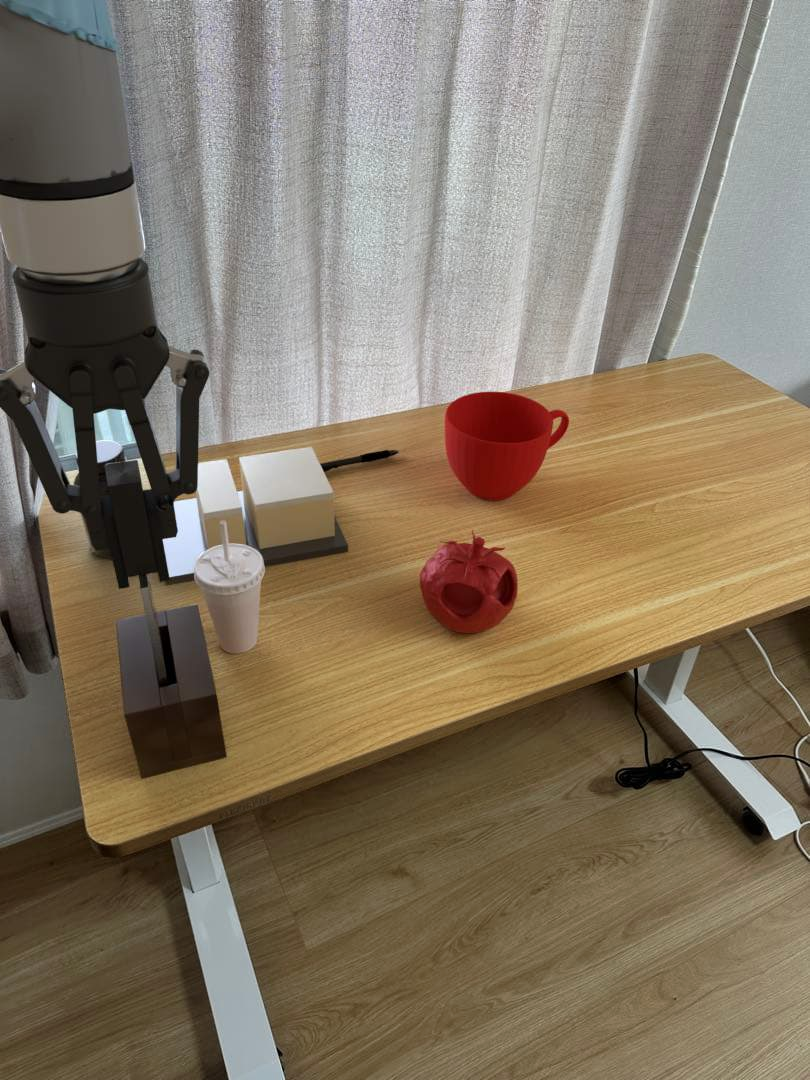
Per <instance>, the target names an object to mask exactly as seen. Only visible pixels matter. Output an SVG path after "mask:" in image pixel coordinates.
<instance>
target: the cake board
mask: <svg viewBox="0 0 810 1080" xmlns="http://www.w3.org/2000/svg"><path fill="white" fill-rule="evenodd" d="M237 493H238V496H239V499H240V503H241V506H242V512H243V521H244V530H245V539H246V545H247V546H250V547H252V548H254V549H255V550H257V551H258V552H259V553H260V554H261V555H262V557H263V561H264V566H265V568H267V567H273V566H277V565H284V564H289V563H294V562H299V561H306V560H311V559H315V558H322V557H327V556H332V555H338V554H343V553H348V552H349V543H348V542H347V539H346V537H345V535H344V533H343V531H342V529H341V527H340V524H339V522H338V520H337V518H336V516H335V515H334V525H335V536H331V537H325V538H319V539H314V540H308V541H303V542H297V543H291V544H286V545H280V546H275V547H269V548H263V549H259V546H258V543H257V540H256V536H255V533H254V530H253V527H252V524H251V521H250V518H249V515H248V512H247V509H246V506H245V503H244V499H243V490H239V491H238V490H237ZM174 510H175V516H176V522H177V528H178V533H177V536H176V537H173V538H167V539H163V544H164V550H165V555H166V561H167V567H168V572H169V578H170V580H168V581H165V585H166V586H170V585H175V584H176V585H177V584H181V583H187V582H193V581H195V579H194V563H195V561H196V559H197V558H198V557H199V556H200V555H201V554H202V553H203V552H205V551H206V550H208V547H207V543H206V539H205V535H204V531H203V527H202V523H201V519H200V514H199V510H198V506H197V499H196V497H194V498H188V499H181V500H174Z"/></svg>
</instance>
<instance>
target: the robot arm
mask: <svg viewBox="0 0 810 1080" xmlns="http://www.w3.org/2000/svg"><path fill="white" fill-rule="evenodd" d="M112 27H113V26H112V23H111V17H110V13H109V9H108V3H107V0H0V235H1V238H2V243H3V246H4V251H5V254H6V258H7V260H8V261H9V262H10V263H11V265H14V266H15V269H14V271H13V272H12V276H11V277H12V282H13V287H14V289H15V294H16V297H17V301H18V305H19V309H20V313H21V316H22V321H23V325H24V329H25V332H26V336H27V345H26V347H25V350H24V360H23V361H21V362H19V363H18V364H17V365H15V366H13V367H12V368H10V369H6V368H0V409H1V410H2V411H3V412H4V413H5V414H6V415H7V416H8V417H9V418H10V420H12V422H13V424H14V426H15V428H16V431H17V433H18V435H19V438H20V439H21V442H22V443H23V446H24V448H25V450H26V452H27V455H28V457H29V460H30V461H31V464H32V465H33V468H34V471H35V473H36V475H37V476H38V479H39V482H40V483H41V486H42V488H43V490H44V492H45V495H46V497H47V500H48V501H49V504H50V505H51V508H52V509H53V511H54V512H55V513H57V514H66V513H67V514H68V513H69V512H70V511H71V512H76V513H81V514H83V515H84V517H85V519H86V523H87V527H88V532H89V536H90V540H91V544H92V546H93V547H94V548H95V550H102V549H108V548H110V552H111V557H112V559H111V561H112V566H113V569H114V575H115V578H116V583H117V587H118V590H122V589H128V588H130V579H129V577H127V575H126V571H125V566H124V562H123V557H122V552H121V548H120V543H119V539H118V534H117V530H116V525H115V520H114V516H113V511H112V507H111V502H110V498H109V495H107V496H100V485H99V473H98V461H97V449H96V441H97V438H96V437H97V436H96V428H95V427H96V425H95V415H94V414H99V413H102V412H104V411H107V410H115V411H116V410H117V411H125V414H126V417H127V421H128V424H129V426H130V428H131V432H132V434H133V437H134V440H135V443H136V446H137V449H138V450H137V451H138V452H139V456H140V459H141V461H142V465H143V468H144V471H145V474H146V476H147V481H148V483H149V487H150V489H143V492H144V498H145V504H146V511H147V516H148V521H149V527H150V532H151V537H152V543H153V548H154V553H155V559H156V564H157V569H158V572H157V575H158V580H159V583H162V582H166V581H168V580H170V578H169V572H168V567H167V561H166V555H165V550H164V544H163V539H167V538H173V537H176V536H177V533H178V528H177V522H176V516H175V510H174V501H176V499H177V498H178V497H179V496H181V495H192V494H194V493H195V492H196V490H197V487H198V463H199V441H200V440H199V439H200V438H199V437H200V435H199V434H200V433H199V432H200V431H199V430H200V399H201V396H202V394H203V391H204V389H205V386H206V384H207V382H208V380H209V378H210V369H209V367H208V364H207V361H206V358H205V355H204V353H203V352H202V351H201V350H199V349H191V350H189V351H184V350H181V349H179V348H175V347H172V346H170V345H169V342H168V340H167V338H166V336H165V335H164V334H163V333H162V331H161V329H160V328H159V326H158V321H157V315H156V314H157V313H156V307H155V299H154V295H153V289H152V288H153V287H152V282H151V274H150V268H149V267H150V266H149V265H148V262H146V261H145V260H144V259H143V258H142V255H144V253H145V251H146V241H145V234H144V228H143V222H142V215H141V208H140V201H139V195H138V189H137V182H136V178H135V176H134V175H135V174H134V168H133V161H132V155H131V147H130V139H129V132H128V125H127V118H126V111H125V105H124V104H125V103H124V97H123V90H122V84H121V75H120V69H119V62H118V55H117V54H118V53H117V52H119V50H118V49H119V47H118V42H117V40H116V38H115V37H114V32H113V28H112ZM166 367H167V368H169V375H170V379H171V382H172V383H173V384H174V385H175V390H176V391H175V414H176V415H175V469H174V470H172V471H170V472H168V471H167V469H166V465H165V462H164V460H163V455H162V452H161V449H160V445H159V442H158V440H157V439H158V438H157V436H156V433H155V429H154V426H153V423H152V419H151V416H150V413H149V409H148V406H147V402H146V398H147V397H148V395H149V394H150V392H151V390H152V388H153V387H154V385H155V384H156V382H157V381H158V379H159V377H160V375H161V373H162V372H163V370H164V369H165V368H166ZM35 380H36V381H37V382H38V383H40V384H41V385H42V386H44V387H45V388H46V389H47V390H48V391H50V392H51V393H52V394H53V395H55V397H57V398H58V399H59V400H61V401H62V402H63V403H64V404H66V405H67V406H68V407H70V408H71V409H72V418H73V419H72V420H73V428H74V429H73V430H74V436H75V437H74V438H75V446H76V447H75V448H76V451H77V458H78V468H79V471H78V473H79V478H80V486H77V485H73V484H71V482H70V480H69V478H68V475H67V473H66V471H65V469H64V466H63V463H62V462H61V459H60V457H59V454H58V452H57V449H56V447H55V445H54V442H53V440H52V437H51V435H50V433H49V430H48V428H47V426H46V424H45V421H44V419H43V416H42V414H41V412H40V410H39V407H38V405H37V403H36V401H35V399H36V385H35V383H34V382H35ZM78 468H77V469H78ZM81 514H80V515H81Z"/></svg>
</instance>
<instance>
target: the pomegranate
mask: <svg viewBox="0 0 810 1080" xmlns="http://www.w3.org/2000/svg"><path fill="white" fill-rule="evenodd" d="M471 535H472V542H471V543H468V542H459V543H458V542H457V541H456V540H447V541H441V540H440V541H439V542H440V543H442V545H440V546H439V547H438V548H437V549H436V550H435V551H434V553H433V554H432V555H431V556H430V557H429V558H428V559H427V560H426V562H425V563H424V565H423V567H422V568H421V570H420V573H419V580H418V583H419V589H420V592H421V593H420V594H421V597H422V600H423V604H424V605H425V607H426V609H427V611H428V612H429V613H430V615H431V616H432V617H433V618H434V619H436V621H437V622H438V623H440V624H441V625H442V626H444V627H445V628H447V629H449V630H450V631H453V632H457V633H461V634H474V633H480V632H485V631H487V630H489V629H492V628H495V627H496V626H498V625H499V624H501V622H502V621H503V620H504V619H506V618H507V616H508V615H509V614H510V613H511V611H512V610H513V608H514V606H515V603H516V600H517V597H518V589H519V587H518V586H519V585H518V580H519V579H518V574H517V571H516V568H515V566H514V565H513V563H512V562H511V561H510V560H509V559H507V558H506V557H504V556H503V555H502V554H499V553H498V552H500V551H501V552H502V551H504V550H505V549H506V547H505V546H503V547H497V546H494V547H490V548H488V547H485V546H484V545H485V543H486V541H485V539H484V538H482V537H481V536H478V537H476V535H475V533H474V529H472V530H471Z"/></svg>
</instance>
